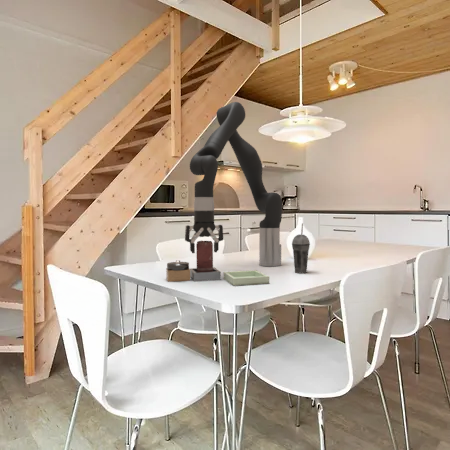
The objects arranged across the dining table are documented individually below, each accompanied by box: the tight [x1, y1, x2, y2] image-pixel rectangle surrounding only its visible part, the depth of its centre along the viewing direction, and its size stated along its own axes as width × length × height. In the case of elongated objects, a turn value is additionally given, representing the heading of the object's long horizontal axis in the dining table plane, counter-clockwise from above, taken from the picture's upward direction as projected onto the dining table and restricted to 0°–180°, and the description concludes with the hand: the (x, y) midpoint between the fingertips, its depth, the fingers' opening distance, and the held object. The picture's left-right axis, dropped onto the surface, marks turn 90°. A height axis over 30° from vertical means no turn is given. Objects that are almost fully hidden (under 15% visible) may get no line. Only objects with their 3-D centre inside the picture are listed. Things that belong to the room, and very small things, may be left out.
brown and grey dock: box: [165, 260, 222, 283], centre depth 134 cm, size 19×10×7 cm, turn 105°
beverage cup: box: [291, 223, 311, 274], centre depth 145 cm, size 7×7×20 cm
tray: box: [223, 270, 270, 287], centre depth 129 cm, size 13×13×2 cm
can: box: [195, 240, 214, 272], centre depth 135 cm, size 6×6×14 cm
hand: (204, 252), depth 135 cm, fingers open, 8 cm apart
